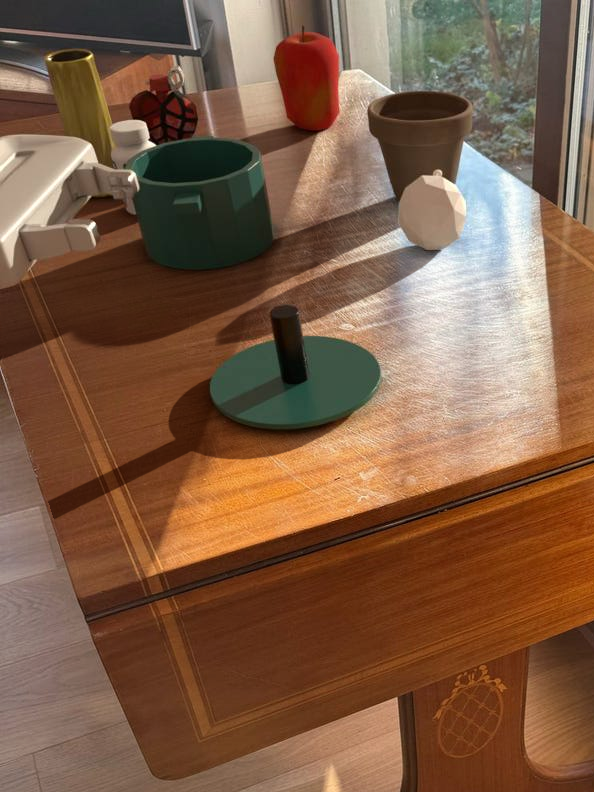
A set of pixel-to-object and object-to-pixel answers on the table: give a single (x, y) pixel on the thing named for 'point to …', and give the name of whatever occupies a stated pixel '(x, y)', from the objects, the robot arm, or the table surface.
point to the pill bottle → (128, 146)
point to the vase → (81, 101)
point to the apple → (308, 79)
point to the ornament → (432, 212)
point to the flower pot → (420, 134)
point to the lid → (294, 378)
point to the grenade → (165, 109)
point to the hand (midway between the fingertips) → (116, 208)
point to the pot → (202, 202)
